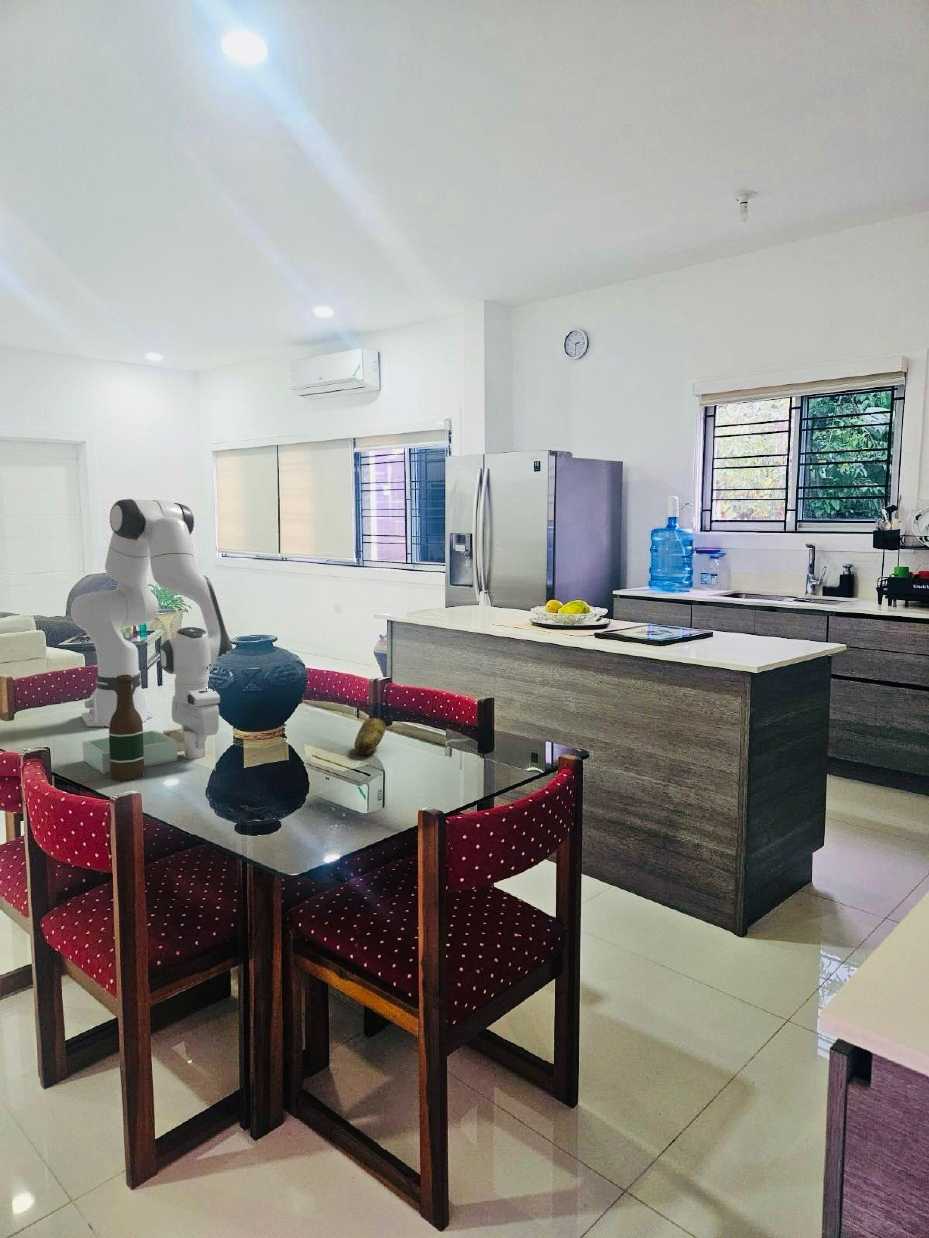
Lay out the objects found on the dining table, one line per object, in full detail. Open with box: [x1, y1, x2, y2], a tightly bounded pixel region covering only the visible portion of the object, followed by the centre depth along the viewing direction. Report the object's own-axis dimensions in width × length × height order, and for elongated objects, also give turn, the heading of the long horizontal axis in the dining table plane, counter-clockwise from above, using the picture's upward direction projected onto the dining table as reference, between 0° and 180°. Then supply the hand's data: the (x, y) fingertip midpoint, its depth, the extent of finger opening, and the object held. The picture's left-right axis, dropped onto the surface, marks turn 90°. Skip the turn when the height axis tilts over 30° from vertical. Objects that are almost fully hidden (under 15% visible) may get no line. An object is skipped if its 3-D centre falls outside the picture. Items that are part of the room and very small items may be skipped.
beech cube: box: [162, 726, 185, 753], centre depth 213 cm, size 5×5×5 cm
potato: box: [354, 717, 386, 756], centre depth 214 cm, size 8×13×8 cm, turn 152°
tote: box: [82, 729, 178, 775], centre depth 202 cm, size 14×18×5 cm
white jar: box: [183, 726, 206, 760], centre depth 207 cm, size 5×5×8 cm
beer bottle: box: [108, 675, 145, 782], centre depth 189 cm, size 8×8×24 cm
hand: (194, 745), depth 207 cm, fingers closed on white jar, 5 cm apart
